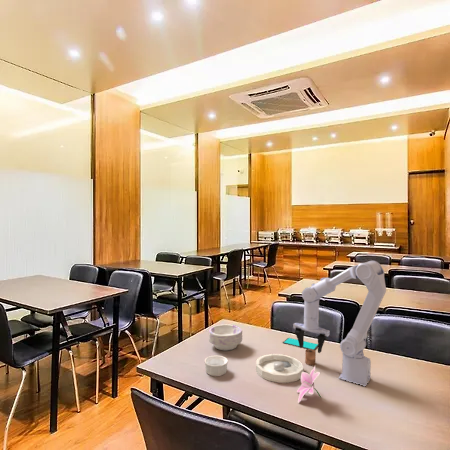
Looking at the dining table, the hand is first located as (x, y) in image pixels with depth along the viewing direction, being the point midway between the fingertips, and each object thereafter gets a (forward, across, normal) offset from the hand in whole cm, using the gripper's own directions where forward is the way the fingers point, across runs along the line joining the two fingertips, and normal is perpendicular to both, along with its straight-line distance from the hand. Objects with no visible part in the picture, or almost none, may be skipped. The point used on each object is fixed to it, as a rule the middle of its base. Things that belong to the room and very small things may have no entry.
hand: (310, 349), depth 130 cm
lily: (+6, -9, +24) cm, 26 cm away
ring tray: (+6, +7, +14) cm, 17 cm away
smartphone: (+6, +11, -16) cm, 20 cm away
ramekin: (+6, +26, +29) cm, 39 cm away
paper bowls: (+6, +37, +8) cm, 38 cm away
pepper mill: (+6, 0, 0) cm, 6 cm away
